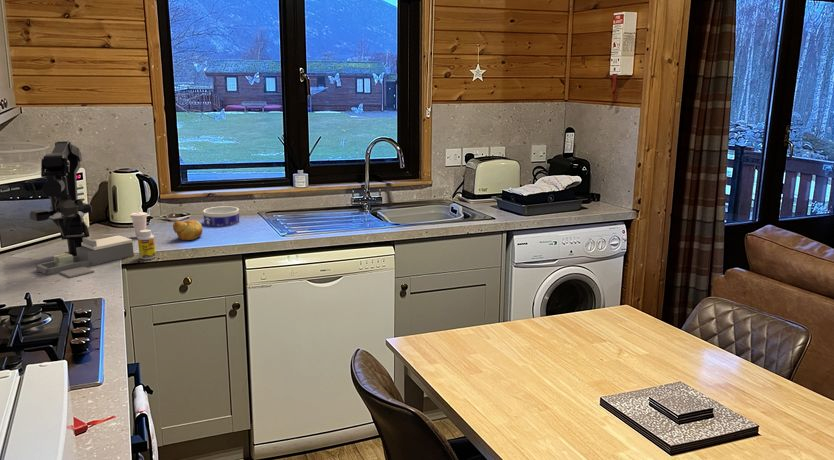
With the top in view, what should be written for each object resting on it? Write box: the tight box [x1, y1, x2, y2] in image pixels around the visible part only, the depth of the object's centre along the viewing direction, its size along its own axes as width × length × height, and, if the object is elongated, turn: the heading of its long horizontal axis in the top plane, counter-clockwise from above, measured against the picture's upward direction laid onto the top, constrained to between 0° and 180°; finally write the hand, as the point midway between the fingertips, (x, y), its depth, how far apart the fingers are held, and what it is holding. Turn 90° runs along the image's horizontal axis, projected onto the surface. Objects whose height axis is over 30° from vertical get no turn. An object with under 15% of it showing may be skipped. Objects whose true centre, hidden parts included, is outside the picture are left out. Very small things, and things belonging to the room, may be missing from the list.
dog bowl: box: [202, 205, 240, 227], centre depth 303 cm, size 15×15×6 cm
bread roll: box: [172, 219, 203, 241], centre depth 277 cm, size 13×10×8 cm
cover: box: [81, 235, 133, 250], centre depth 248 cm, size 10×14×3 cm
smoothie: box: [130, 202, 148, 239], centre depth 278 cm, size 6×6×14 cm
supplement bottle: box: [137, 229, 157, 260], centre depth 249 cm, size 6×6×10 cm
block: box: [53, 252, 74, 267], centre depth 238 cm, size 4×4×4 cm
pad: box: [59, 266, 95, 279], centre depth 232 cm, size 8×8×1 cm
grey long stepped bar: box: [35, 241, 135, 276], centre depth 243 cm, size 9×30×5 cm, turn 140°
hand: (64, 236), depth 236 cm, fingers closed
